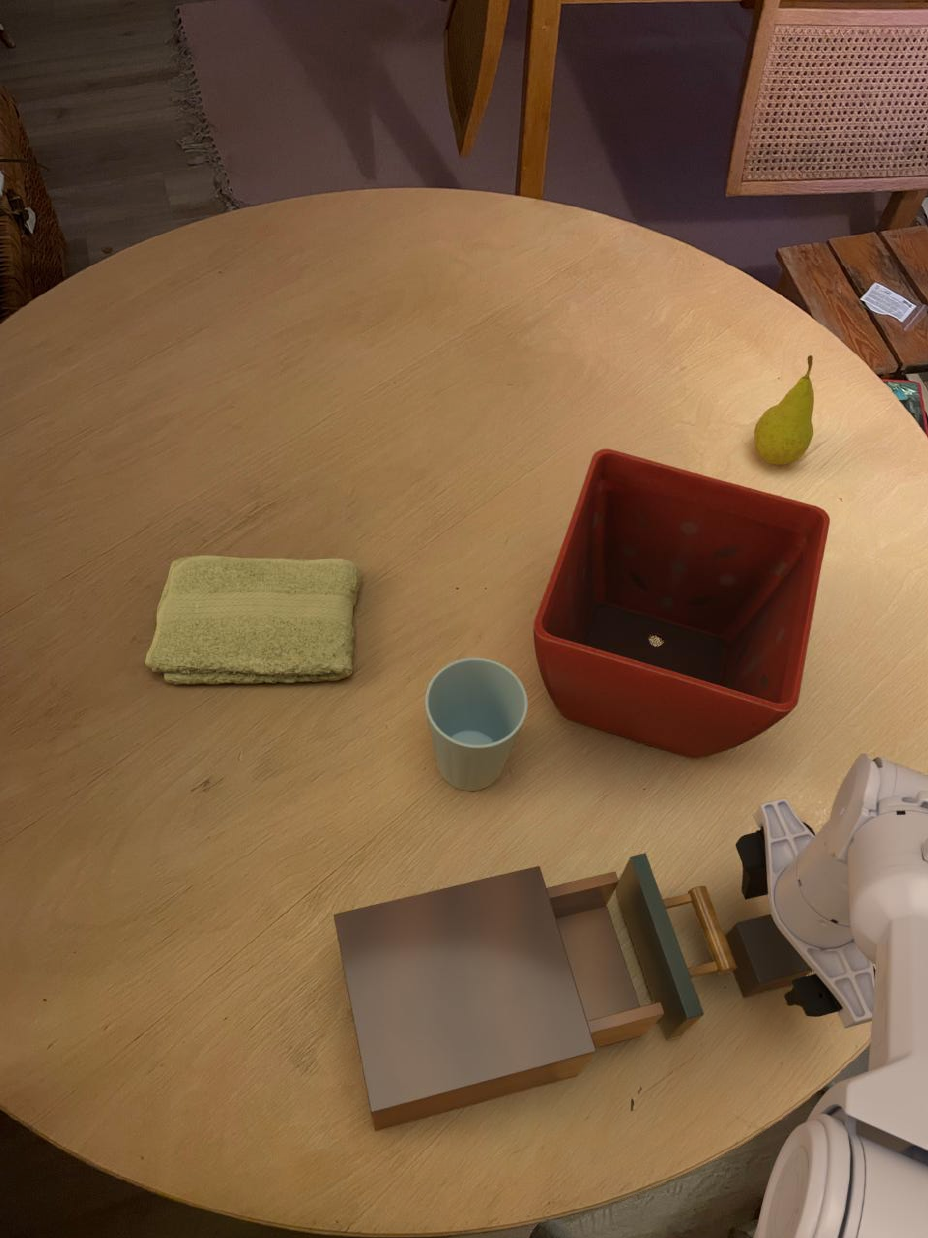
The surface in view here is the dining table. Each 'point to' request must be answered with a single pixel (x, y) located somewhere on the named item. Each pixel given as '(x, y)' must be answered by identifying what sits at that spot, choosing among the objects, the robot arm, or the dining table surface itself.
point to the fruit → (787, 424)
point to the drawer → (654, 941)
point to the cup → (474, 720)
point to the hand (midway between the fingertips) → (776, 943)
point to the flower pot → (679, 606)
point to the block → (763, 956)
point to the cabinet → (461, 996)
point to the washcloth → (255, 620)
